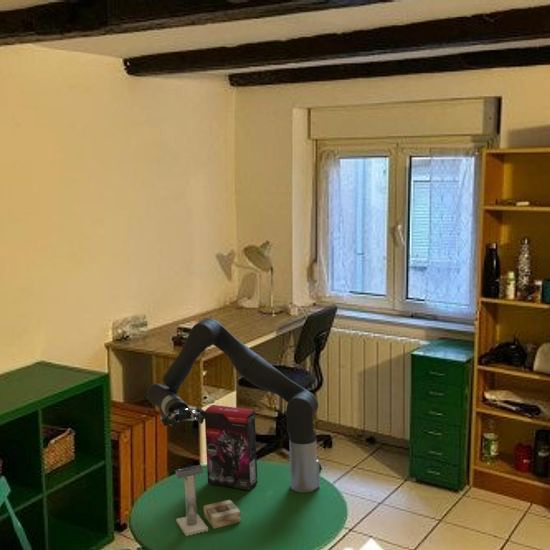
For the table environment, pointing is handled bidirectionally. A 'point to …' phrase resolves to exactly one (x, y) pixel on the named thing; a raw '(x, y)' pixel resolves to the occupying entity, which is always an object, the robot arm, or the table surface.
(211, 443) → the graphics card box
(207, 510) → the slot block
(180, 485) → the table surface
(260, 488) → the table surface
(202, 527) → the beige flat plate
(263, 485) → the table surface
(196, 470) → the t key
